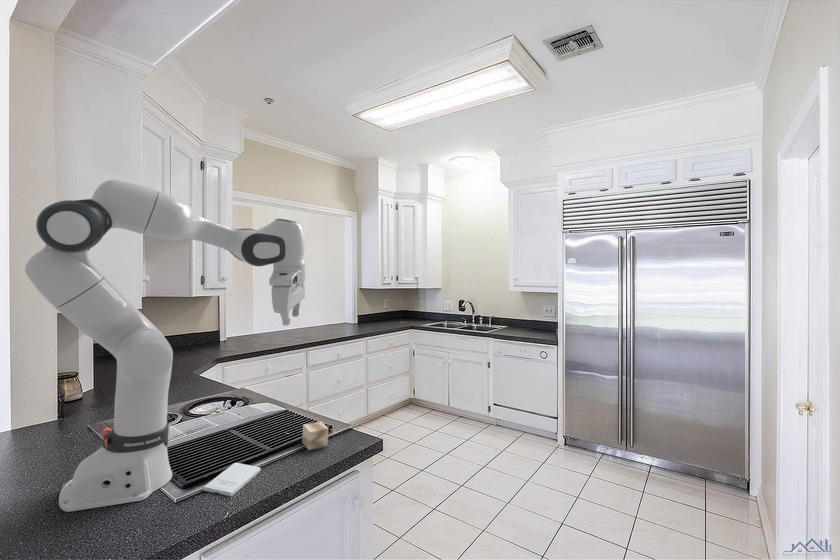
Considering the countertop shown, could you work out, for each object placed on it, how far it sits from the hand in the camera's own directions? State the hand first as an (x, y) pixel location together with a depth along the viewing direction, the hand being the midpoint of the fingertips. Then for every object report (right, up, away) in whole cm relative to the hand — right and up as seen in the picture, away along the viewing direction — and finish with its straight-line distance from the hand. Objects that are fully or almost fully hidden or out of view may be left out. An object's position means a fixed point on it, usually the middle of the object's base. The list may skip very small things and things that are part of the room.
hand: (291, 320), depth 124 cm
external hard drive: (-11, -41, -15) cm, 45 cm away
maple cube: (+5, -40, +7) cm, 41 cm away
